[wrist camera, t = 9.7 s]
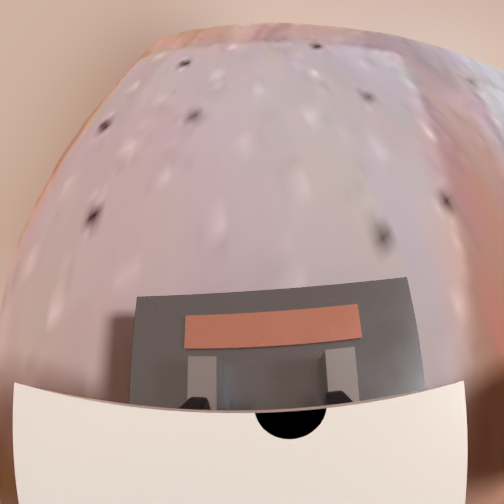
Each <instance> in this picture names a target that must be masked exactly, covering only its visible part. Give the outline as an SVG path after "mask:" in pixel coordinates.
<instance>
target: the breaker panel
mask: <svg viewBox="0 0 504 504" xmlns="http://www.w3.org/2000/svg"><path fill="white" fill-rule="evenodd" d="M338 390H341V391H343V392H344V393H345V394H346V395H347V396H348V397H349V398H350V399H351V400H352V401H353V402H357V401H364V400H370V399H376V398H382V397H387V396H392V395H398V394H404V393H410V392H415V391H420V390H425V383H424V374H423V366H422V358H421V351H420V344H419V338H418V332H417V326H416V320H415V315H414V310H413V304H412V300H411V295H410V290H409V285H408V281H407V277H404V278H395V279H386V280H377V281H367V282H357V283H347V284H336V285H325V286H313V287H301V288H289V289H276V290H262V291H247V292H231V293H213V294H194V295H172V296H146V297H137V302H136V311H135V321H134V331H133V343H132V357H131V374H130V398H129V404H133V405H142V406H152V407H163V408H176V409H178V408H179V407H180V406H181V405H182V404H183V403H185V402H186V401H187V400H188V399H189V398H190V397H206V398H207V399H208V401H209V405H210V408H211V410H274V409H292V408H305V407H316V406H324V404H325V394H326V393H327V392H330V391H338Z"/></svg>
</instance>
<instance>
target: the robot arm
mask: <svg viewBox="0 0 504 504" xmlns="http://www.w3.org/2000/svg"><path fill="white" fill-rule="evenodd" d="M350 402H353V401H352V400H351V399H350V398H349V397H348V396H347V395H346V394H345V393H344V392H343V391H341V390H338V391H330V392H327V393H326V394H325V404H324V406H326V405H334V404H343V403H350ZM178 409H193V410H211V408H210V405H209V401H208V399H207V398H206V397H190V398H189V399H188V400H187V401H186V402H185V403H183V404H182V405H181V406H180V407H179V408H178Z"/></svg>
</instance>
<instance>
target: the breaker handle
mask: <svg viewBox="0 0 504 504" xmlns="http://www.w3.org/2000/svg"><path fill="white" fill-rule="evenodd" d="M13 453H14V467H15V478H16V487H17V495H18V501H19V504H465V498H466V484H467V458H468V441H467V414H466V400H465V389H464V381H460V382H456V383H452V384H448V385H444V386H439V387H435V388H430V389H425V390H420V391H415V392H410V393H404V394H398V395H392V396H387V397H382V398H376V399H370V400H364V401H357V402H350V403H343V404H334V405H326V406H316V407H305V408H292V409H274V410H193V409H176V408H163V407H152V406H142V405H133V404H125V403H118V402H111V401H105V400H98V399H91V398H85V397H79V396H73V395H68V394H63V393H58V392H53V391H48V390H44V389H39V388H35V387H31V386H27V385H23V384H19V383H15V382H14V396H13Z"/></svg>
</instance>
